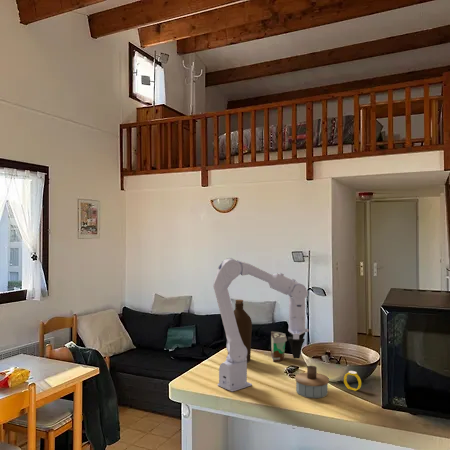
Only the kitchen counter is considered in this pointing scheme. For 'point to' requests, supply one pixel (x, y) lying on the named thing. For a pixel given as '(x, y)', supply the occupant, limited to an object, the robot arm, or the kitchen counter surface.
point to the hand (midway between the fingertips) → (296, 354)
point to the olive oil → (243, 326)
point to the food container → (278, 346)
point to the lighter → (325, 358)
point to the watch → (355, 376)
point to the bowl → (311, 390)
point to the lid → (312, 377)
